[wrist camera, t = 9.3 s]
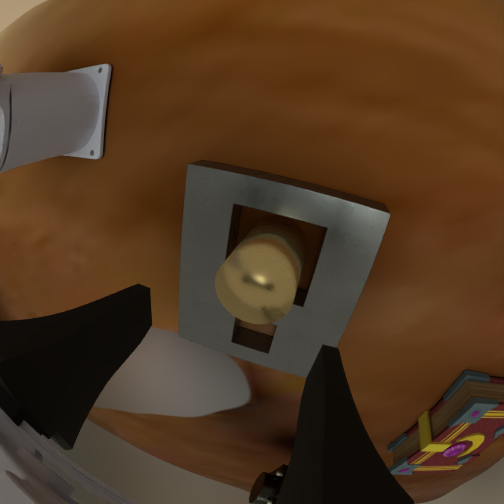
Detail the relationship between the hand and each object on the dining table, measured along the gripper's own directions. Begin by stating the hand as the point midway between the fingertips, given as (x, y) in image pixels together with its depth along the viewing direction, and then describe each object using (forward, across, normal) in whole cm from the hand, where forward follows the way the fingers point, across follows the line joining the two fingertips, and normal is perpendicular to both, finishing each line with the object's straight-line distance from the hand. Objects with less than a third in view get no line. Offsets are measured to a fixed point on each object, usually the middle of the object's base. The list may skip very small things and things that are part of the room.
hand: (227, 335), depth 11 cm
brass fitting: (+9, 0, 0) cm, 9 cm away
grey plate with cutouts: (+9, 0, +2) cm, 10 cm away
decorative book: (+10, -25, +15) cm, 31 cm away
